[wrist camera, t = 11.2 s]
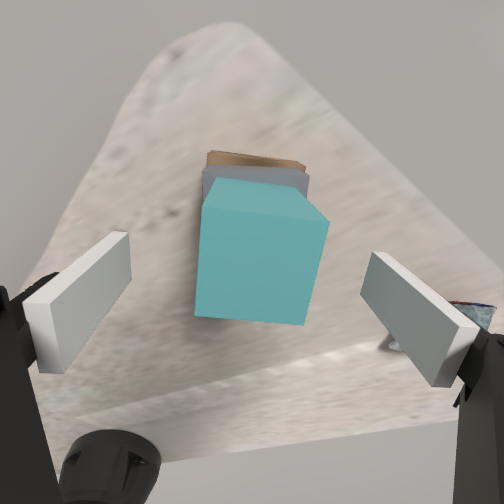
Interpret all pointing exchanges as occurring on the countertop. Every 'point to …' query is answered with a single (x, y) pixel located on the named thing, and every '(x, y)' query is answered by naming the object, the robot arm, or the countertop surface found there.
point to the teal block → (257, 252)
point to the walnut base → (250, 160)
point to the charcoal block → (256, 176)
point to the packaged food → (472, 310)
